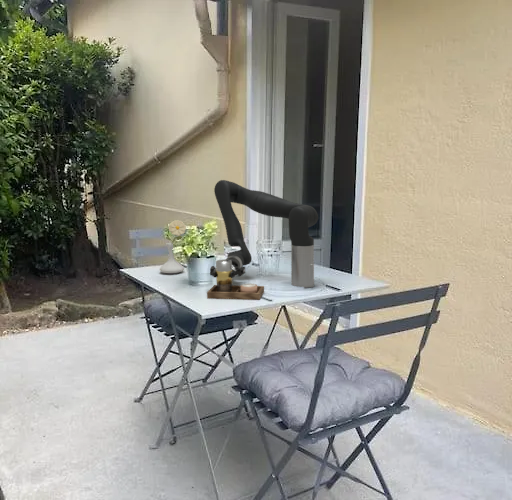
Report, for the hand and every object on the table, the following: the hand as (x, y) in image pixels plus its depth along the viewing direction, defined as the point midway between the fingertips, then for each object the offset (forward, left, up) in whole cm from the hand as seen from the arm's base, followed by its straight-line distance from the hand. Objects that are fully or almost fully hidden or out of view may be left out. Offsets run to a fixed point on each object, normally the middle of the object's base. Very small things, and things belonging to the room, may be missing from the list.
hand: (222, 275), depth 207 cm
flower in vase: (+33, -43, -9) cm, 56 cm away
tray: (-5, -2, -9) cm, 10 cm away
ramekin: (-10, -2, -8) cm, 13 cm away
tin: (0, -2, -7) cm, 7 cm away
